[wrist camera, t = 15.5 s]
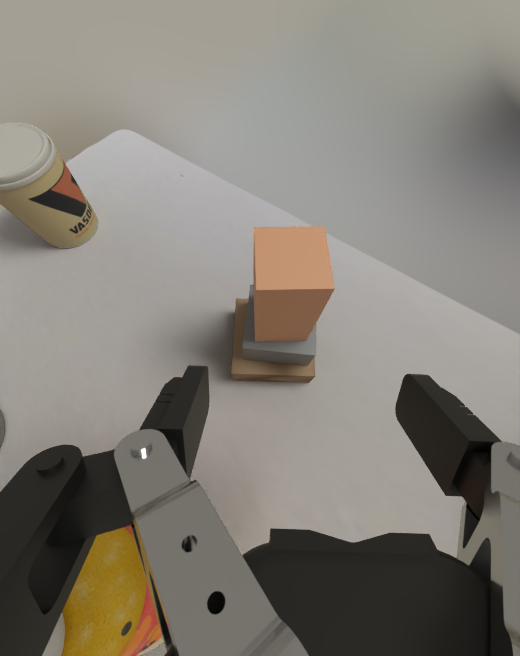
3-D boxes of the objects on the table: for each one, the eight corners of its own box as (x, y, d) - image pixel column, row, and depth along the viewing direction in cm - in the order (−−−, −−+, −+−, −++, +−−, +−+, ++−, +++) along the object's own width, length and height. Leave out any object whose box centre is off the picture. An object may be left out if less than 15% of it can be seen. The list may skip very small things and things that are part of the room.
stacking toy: (134, 689, 23) (-283, 1560, 5) (30, 562, 26) (-464, 831, 8) (241, 527, 28) (217, 695, 10) (141, 434, 31) (-23, 427, 13)
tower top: (243, 359, 30) (242, 348, 27) (250, 302, 33) (250, 284, 29) (307, 365, 30) (315, 355, 26) (309, 307, 33) (317, 291, 29)
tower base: (233, 380, 33) (231, 373, 30) (238, 312, 37) (236, 298, 33) (308, 383, 33) (315, 376, 30) (306, 315, 37) (311, 301, 33)
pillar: (254, 342, 27) (256, 290, 18) (253, 296, 29) (253, 227, 19) (306, 340, 27) (334, 288, 18) (301, 295, 29) (325, 226, 20)
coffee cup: (93, 256, 39) (29, 183, 28) (27, 250, 39) (-62, 176, 28) (111, 205, 43) (61, 123, 32) (52, 201, 43) (-20, 117, 32)
